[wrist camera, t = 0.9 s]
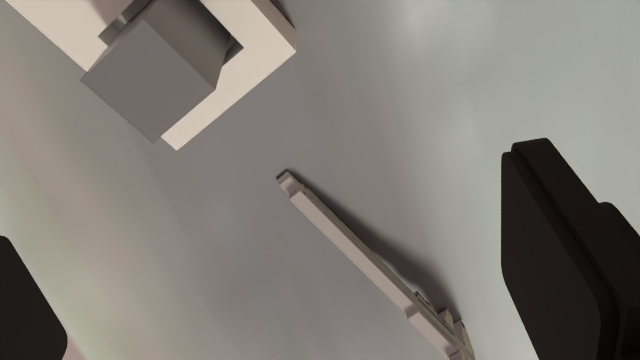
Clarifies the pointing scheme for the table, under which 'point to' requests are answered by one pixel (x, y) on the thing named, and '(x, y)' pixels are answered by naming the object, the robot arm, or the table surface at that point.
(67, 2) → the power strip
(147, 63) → the grey rectangular block
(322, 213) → the caliper
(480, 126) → the table surface
